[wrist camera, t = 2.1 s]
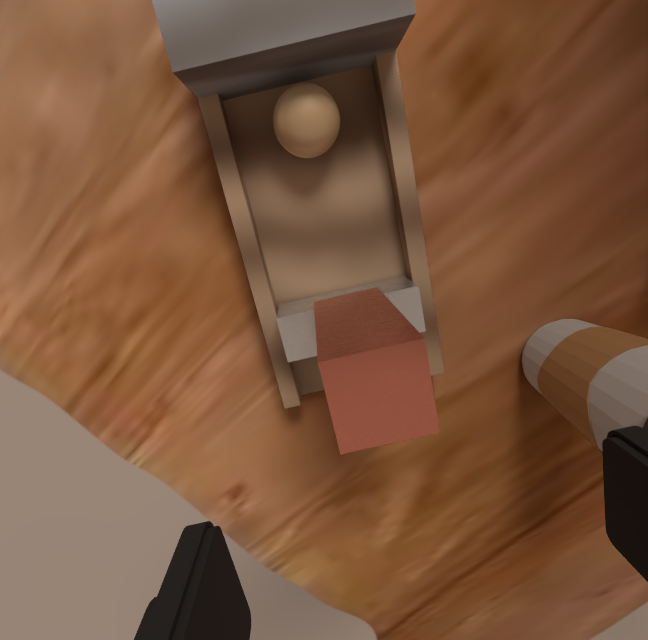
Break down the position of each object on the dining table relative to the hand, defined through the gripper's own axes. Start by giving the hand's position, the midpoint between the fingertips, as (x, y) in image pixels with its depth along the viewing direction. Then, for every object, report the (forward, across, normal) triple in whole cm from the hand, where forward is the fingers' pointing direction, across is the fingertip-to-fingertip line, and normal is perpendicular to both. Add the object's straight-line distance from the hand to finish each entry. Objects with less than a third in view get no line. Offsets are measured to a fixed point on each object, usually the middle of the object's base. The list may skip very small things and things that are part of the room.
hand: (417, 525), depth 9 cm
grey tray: (+21, 0, -7) cm, 22 cm away
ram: (+20, 0, -1) cm, 20 cm away
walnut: (+20, 0, -13) cm, 24 cm away
